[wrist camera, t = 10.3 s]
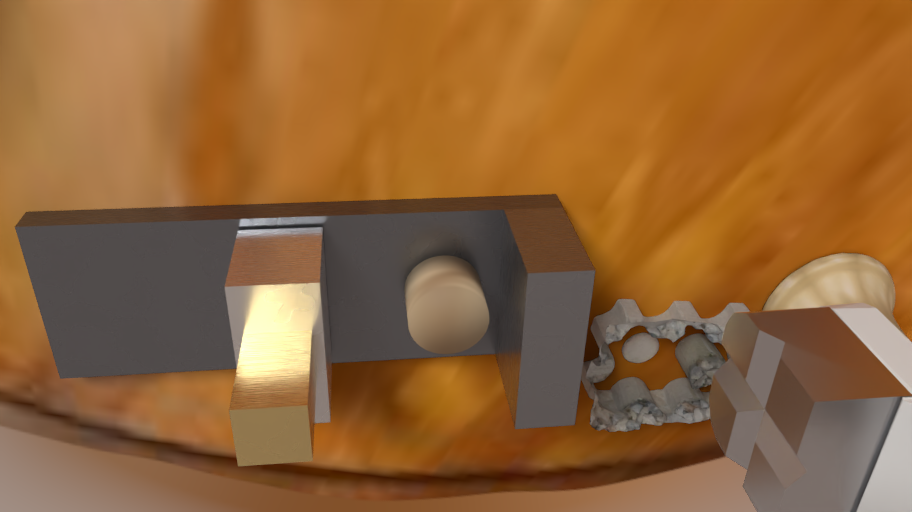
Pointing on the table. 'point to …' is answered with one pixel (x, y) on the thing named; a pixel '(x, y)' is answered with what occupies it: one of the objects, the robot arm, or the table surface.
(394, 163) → the table surface
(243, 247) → the block
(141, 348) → the press base
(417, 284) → the hazelnut
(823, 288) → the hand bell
